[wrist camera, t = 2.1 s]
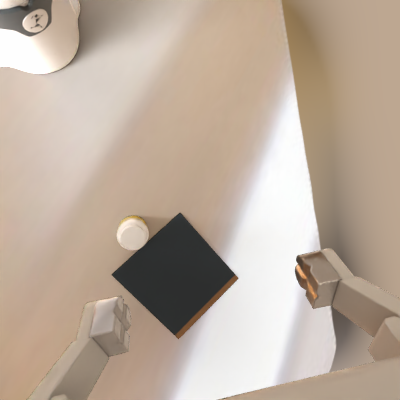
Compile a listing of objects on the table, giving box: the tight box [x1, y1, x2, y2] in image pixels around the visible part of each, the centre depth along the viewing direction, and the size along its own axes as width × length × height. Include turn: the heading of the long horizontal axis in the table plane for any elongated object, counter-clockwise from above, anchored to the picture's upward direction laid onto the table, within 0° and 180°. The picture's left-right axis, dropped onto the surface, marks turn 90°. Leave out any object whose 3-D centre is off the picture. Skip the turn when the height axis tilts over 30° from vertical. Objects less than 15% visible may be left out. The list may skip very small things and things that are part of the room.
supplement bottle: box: [117, 215, 149, 250], centre depth 45 cm, size 5×5×10 cm
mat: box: [112, 213, 238, 339], centre depth 52 cm, size 20×18×1 cm
